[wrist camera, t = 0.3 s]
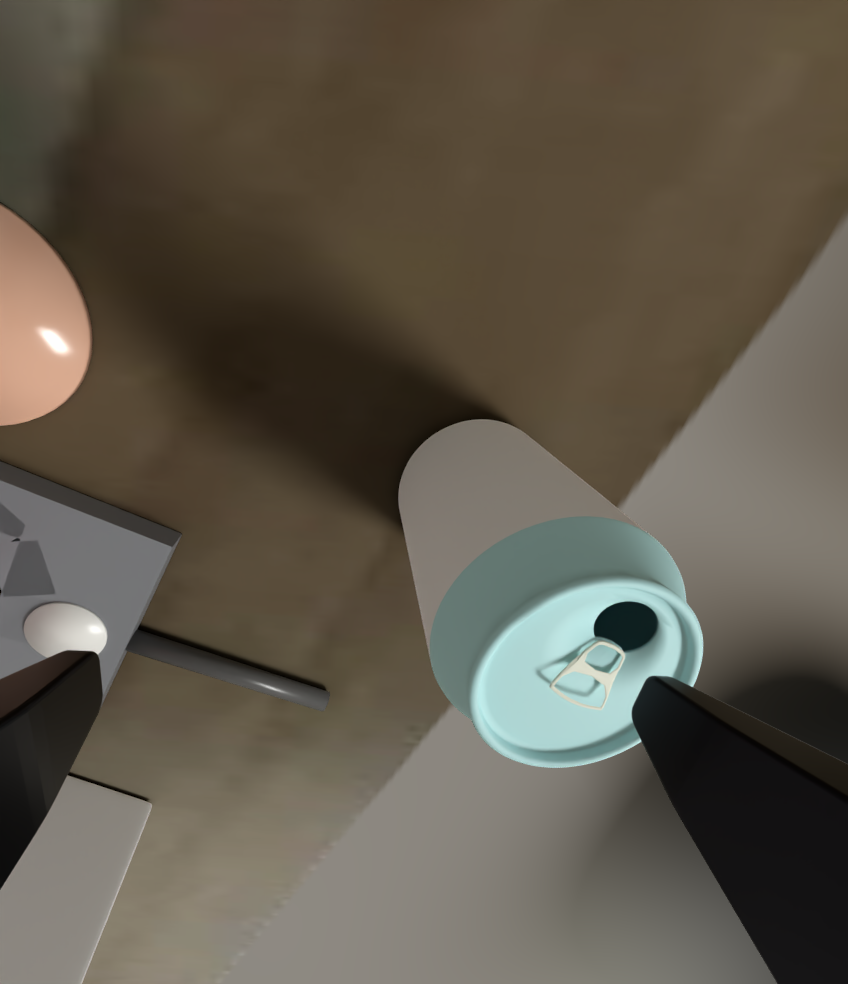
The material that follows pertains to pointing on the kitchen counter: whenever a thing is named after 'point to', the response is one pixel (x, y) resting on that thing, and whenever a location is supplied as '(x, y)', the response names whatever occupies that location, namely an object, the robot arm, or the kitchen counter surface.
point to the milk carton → (67, 884)
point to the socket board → (95, 587)
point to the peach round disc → (38, 324)
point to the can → (538, 596)
